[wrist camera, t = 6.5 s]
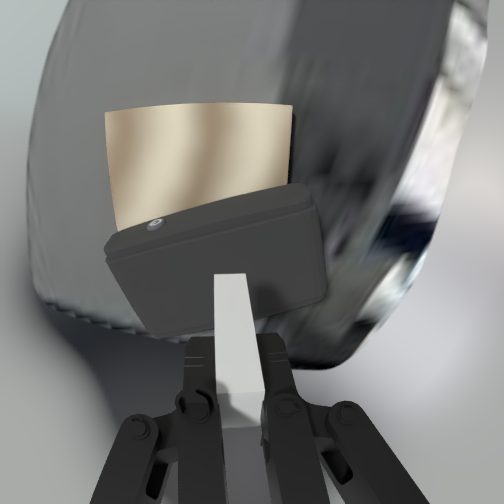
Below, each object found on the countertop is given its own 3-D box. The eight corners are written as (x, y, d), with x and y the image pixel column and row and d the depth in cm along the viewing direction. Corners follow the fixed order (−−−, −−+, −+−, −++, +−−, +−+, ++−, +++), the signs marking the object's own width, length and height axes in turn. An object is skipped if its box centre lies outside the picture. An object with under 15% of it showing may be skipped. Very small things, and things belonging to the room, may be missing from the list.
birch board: (289, 105, 18) (292, 105, 17) (272, 305, 27) (274, 312, 26) (109, 111, 17) (104, 112, 16) (139, 308, 26) (137, 315, 25)
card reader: (301, 172, 20) (113, 226, 21) (318, 189, 16) (94, 252, 17) (318, 273, 25) (157, 311, 25) (331, 303, 21) (150, 343, 22)
